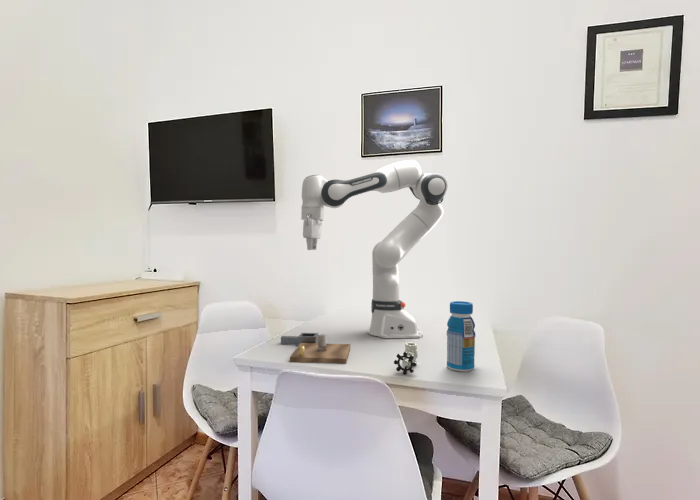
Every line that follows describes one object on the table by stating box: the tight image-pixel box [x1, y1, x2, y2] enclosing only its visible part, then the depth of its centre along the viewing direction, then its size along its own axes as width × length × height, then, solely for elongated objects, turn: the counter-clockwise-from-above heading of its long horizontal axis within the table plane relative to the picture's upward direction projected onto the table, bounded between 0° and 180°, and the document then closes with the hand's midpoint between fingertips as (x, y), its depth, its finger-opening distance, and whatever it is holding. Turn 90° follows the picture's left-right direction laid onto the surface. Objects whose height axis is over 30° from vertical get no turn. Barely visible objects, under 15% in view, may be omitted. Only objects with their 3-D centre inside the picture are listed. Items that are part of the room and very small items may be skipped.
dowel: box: [300, 346, 304, 356], centre depth 126 cm, size 1×1×4 cm
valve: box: [393, 342, 419, 376], centre depth 119 cm, size 7×7×12 cm
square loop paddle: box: [280, 332, 319, 347], centre depth 146 cm, size 13×6×4 cm, turn 86°
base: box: [289, 334, 351, 364], centre depth 133 cm, size 18×18×6 cm
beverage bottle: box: [446, 300, 476, 373], centre depth 119 cm, size 8×8×20 cm
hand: (311, 249), depth 159 cm, fingers open, 8 cm apart
